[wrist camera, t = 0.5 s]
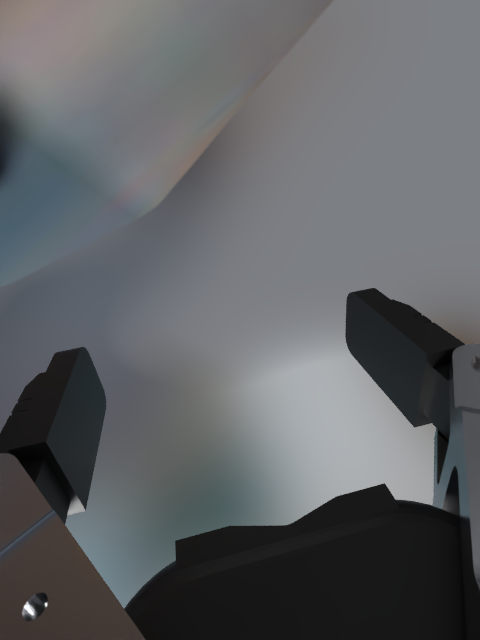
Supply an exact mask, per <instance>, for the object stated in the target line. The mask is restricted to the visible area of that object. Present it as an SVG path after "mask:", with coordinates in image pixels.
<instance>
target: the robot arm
mask: <svg viewBox="0 0 480 640" xmlns="http://www.w3.org/2000/svg"><path fill="white" fill-rule="evenodd" d="M346 306H347V307H346V343H347V346H348V349H349V351H350V352H351V354H352V355H353V356H354V358H355V359H356V360H357V361H358V362H359V364H360V365H361V366H362V367H363V368H364V369H365V371H366V372H367V373H368V374H369V375H370V376H371V377H372V379H373V380H374V381H375V382H376V383H377V384H378V386H379V387H380V388H381V389H382V390H383V391H384V393H385V394H386V395H387V396H388V397H389V398H390V400H392V402H393V403H394V404H395V405H396V406H397V408H398V409H399V410H400V411H401V412H402V413H403V415H404V416H405V417H406V418H407V419H408V421H409V422H410V423H411V424H412V425H413V426H414V427H418V426H422V425H426V424H429V423H433V425H434V426H435V427H436V432H435V438H434V440H435V441H434V496H433V497H434V498H433V506H431V505H428V504H423V503H419V502H414V501H406V500H395V499H394V497H393V496H392V494H391V492H390V491H389V489H388V488H387V486H386V485H385V484H381V485H377V486H374V487H370V488H367V489H363V490H359V491H355V492H352V493H349V494H344V495H341V496H337V497H335V498H333V499H332V500H330V501H328V502H327V503H325V504H323V505H322V506H320V507H318V508H317V509H315V510H313V511H312V512H310V513H308V514H307V515H305V516H304V517H302V518H301V519H299V520H297V521H295V522H294V523H292V524H289V525H284V526H228V527H225V528H221V529H217V530H214V531H210V532H206V533H203V534H199V535H195V536H191V537H188V538H184V539H180V540H177V541H176V542H175V543H176V561H174V562H173V563H171V564H169V565H168V566H166V567H165V568H164V569H162V570H161V571H160V572H158V573H157V574H156V575H155V576H154V577H152V578H151V579H150V580H149V581H148V582H147V583H146V584H145V585H144V586H143V587H142V588H141V589H140V590H139V591H138V593H137V594H136V595H135V596H134V597H133V598H132V599H131V600H130V602H129V603H128V604H127V606H126V607H125V609H124V608H123V607H122V605H121V604H120V603H119V601H118V600H117V598H116V597H115V595H114V594H113V593H112V591H111V590H110V588H109V587H108V586H107V584H106V583H105V581H104V580H103V579H102V577H101V576H100V574H99V573H98V572H97V570H96V569H95V567H94V566H93V564H92V563H91V561H90V560H89V559H88V557H87V556H86V554H85V553H84V551H83V550H82V549H81V547H80V546H79V545H78V543H77V542H76V540H75V539H74V537H73V536H72V535H71V533H70V532H69V530H68V529H67V527H66V526H65V522H66V518H67V515H71V514H75V513H78V512H82V511H85V510H86V506H87V500H88V496H89V491H90V486H91V481H92V476H93V471H94V466H95V460H96V456H97V451H98V446H99V441H100V436H101V431H102V426H103V420H104V416H105V411H106V397H105V392H104V389H103V386H102V384H101V382H100V379H99V377H98V374H97V372H96V369H95V367H94V364H93V362H92V360H91V357H90V355H89V353H88V351H87V349H86V348H84V347H81V348H76V349H71V350H66V351H61V352H57V353H55V354H54V356H53V358H52V360H51V362H50V364H49V367H48V368H47V371H46V372H44V373H40V374H38V375H37V376H36V377H35V378H34V379H33V380H32V381H31V382H30V383H29V384H28V385H27V386H26V387H25V388H24V390H23V392H22V394H21V396H20V398H19V399H18V403H17V404H16V405H15V407H14V409H13V411H12V412H11V413H12V415H11V416H9V418H8V420H7V422H6V424H5V426H4V427H3V429H2V431H1V433H0V640H480V344H467V345H465V344H464V343H462V342H461V341H460V340H458V339H457V338H455V337H454V336H452V335H451V334H450V333H448V332H447V331H445V330H444V329H442V328H441V327H440V326H438V325H437V324H435V323H432V322H431V320H429V319H428V318H427V317H425V316H424V315H423V316H422V315H421V313H419V312H418V311H417V310H415V309H414V308H412V307H411V306H409V305H407V304H403V303H401V302H398V301H395V300H390V299H389V298H388V297H386V296H385V295H384V294H382V293H381V292H379V291H378V290H377V289H375V288H371V289H366V290H361V291H356V292H351V293H349V294H348V297H347V305H346Z"/></svg>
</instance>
